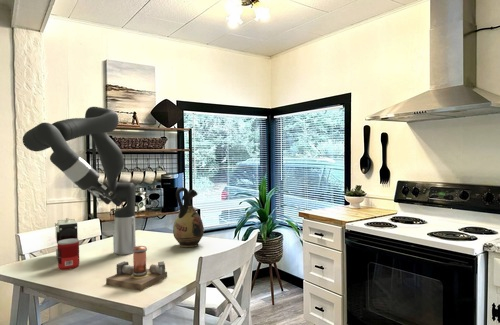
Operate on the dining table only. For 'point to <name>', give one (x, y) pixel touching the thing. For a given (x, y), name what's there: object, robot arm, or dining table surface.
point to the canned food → (68, 254)
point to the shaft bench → (130, 281)
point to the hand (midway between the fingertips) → (114, 203)
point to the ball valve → (66, 230)
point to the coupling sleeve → (139, 261)
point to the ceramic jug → (187, 221)
